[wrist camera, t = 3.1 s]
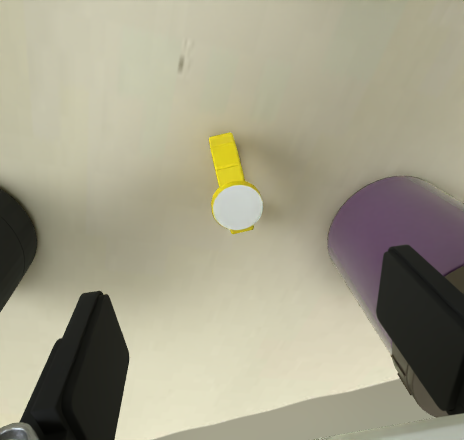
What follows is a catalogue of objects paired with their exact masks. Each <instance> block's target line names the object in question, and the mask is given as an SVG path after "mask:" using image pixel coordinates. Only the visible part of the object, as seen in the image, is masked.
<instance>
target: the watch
mask: <svg viewBox="0 0 464 440" xmlns="http://www.w3.org/2000/svg"><path fill="white" fill-rule="evenodd" d="M209 144H210V149H211V153H212V158H213V162H214V167H215V171H216V176H217V180H218V184H219V188H218V189H217V190H216V192H215V193H214V195H213V198H212V201H211V206H212V214H213V216H214V219H215V220H216V221H217V222H218V223H219V224H220V225H221V226H222V227H224V228H226V229H230V231H231V233H232V234H236V233H240V232H245V231H249V230H253V228H254V223H256V222H257V220H258V219H259V218H260V216H261V214H262V211H263V200H262V198H261V195H260V193H259V191H258V190H257V189H256V187H255V186H254V185H252V184H250V183H249V182H246V181H245V179H244V175H243V170H242V166H241V162H240V158H239V155H238V151H237V147H236V144H235V140H234V137H233V134H232V133H230V132H229V133H225V134H221V135H217V136H213V137H210V138H209Z"/></svg>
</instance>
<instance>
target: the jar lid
mask: <svg viewBox="0 0 464 440" xmlns="http://www.w3.org/2000/svg"><path fill="white" fill-rule="evenodd" d="M445 278H446V279H447V280H448V281H449V282H451V283H452V284H453V285H454V286H455V287H456V288H457V289H458V290H459V291H460V292H462V293H463V294H464V266H462V267H460V268H458V269H456V270H455V271H453V272H451V273H450V274H448V275H446V276H445ZM391 357H392V360H393V363H394V366H395V368H396V369H397V371H398V373H397V374H398V376H399V377H400V379H401V381H402V382H403V384H404V385H405V387H406V389H407V390H408V392H409V394H410V395H413V397H414V399H415V400H416V402H417V404H418V405H419V406H420V407H421V408H422V409H423V410H424V411H426V412H427V413H429V414H430V415H432V416H434V417H436V418H437V417H444V416H449V415H448V414H447V412H446V411H442V410H441V409H439V408H438V406H437V405H436V404H435V402H434V401H433V399H432V398H431V396H430V395H429V393H428V392H427V390H426V389H425V388H424V386H423V385H422V383H421V382H420V380H419V379H418V377H417V376H416V374H415V373H414V372H413V370H412V369H411V367H410V366H409V364H408V363H407V361H406V360H405V358H404V357H403V356H402V354H401V353H400V351H399V350H398V348H397V347H396V345H395V344H394V342H392V355H391Z"/></svg>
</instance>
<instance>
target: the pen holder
mask: <svg viewBox="0 0 464 440" xmlns="http://www.w3.org/2000/svg"><path fill="white" fill-rule="evenodd" d="M36 248H37V239H36V233H35V230H34V226H33V224H32V222H31V220H30V218H29V217H28V215H27V213H26V212H25V211H24V210H23V208H22V207H21V206H20V205H19V204H18V203H17V202H16V201H15V200H14V199H13V198H12V197H11V196H9V195H8V194H7V193H5V192H4V191H2V190H1V189H0V312H1V310H2V309H3V307H4V306H5V304H6V303H7V301H8V300H9V298H10V297H11V295H12V294H13V292H14V290H15V289H16V287H17V286H18V284H19V282H20V281H21V279H22V277H23V276H24V274H25V273H26V271H27V269H28V268H29V266H30V265H31V263H32V261H33V259H34V256H35V253H36Z"/></svg>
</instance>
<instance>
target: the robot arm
mask: <svg viewBox="0 0 464 440" xmlns="http://www.w3.org/2000/svg"><path fill="white" fill-rule="evenodd" d="M376 315H377V318H378V320H379V322H380V324H381V325H382V326H383V328H384V329H385V331H386V332H387V334H388V335H389V337H390V338H391V340H392V341H393V342H394V344H395V345H396V347H397V348H398V350H399V351H400V353H401V354H402V356H403V357H404V358H405V360H406V361H407V363H408V364H409V366H410V367H411V369H412V370H413V372H414V373H415V374H416V376H417V377H418V379H419V380H420V382H421V383H422V385H423V386H424V388H425V389H426V390H427V392H428V393H429V395H430V396H431V398H432V399H433V401H434V402H435V404H436V405H437V406H438V408H439V409H441V410H442V411H446V412H447V414H448V415H449V416H444V417H437V418H431V419H426V420H420V421H414V422H408V423H403V424H397V425H391V426H385V427H380V428H375V429H368V430H363V431H357V432H351V433H346V434H341V435H335V436H329V437H323V438H318V439H312V440H464V294H463V293H462V292H460V291H459V290H458V289H457V288H456V287H455V286H454V285H453V284H452V283H451V282H449V281H448V280H447V279H446V278H445V277H444V276H443V275H442V274H441V273H440V272H438V271H437V270H436V269H435V268H434V267H433V266H432V265H431V264H430V263H429V262H427V261H426V260H425V259H424V258H423V257H422V256H421V255H420V254H419V253H418V252H416V251H415V250H414V249H413V248H412V247H411V246H410V245H407V244H405V245H399V246H392V247H389V249H388V251H387V252H385V253H384V255H383V262H382V269H381V277H380V285H379V292H378V300H377V307H376ZM128 365H129V352H128V348H127V346H126V343H125V340H124V337H123V334H122V331H121V329H120V326H119V323H118V320H117V317H116V314H115V312H114V309H113V306H112V303H111V300H110V298H109V296H108V295H107V294H105V295H103V293H102V292H101V291H96V292H89V293H83V294H82V295H81V296H80V298H79V301H78V303H77V305H76V308H75V310H74V312H73V315H72V317H71V319H70V321H69V324H68V326H67V328H66V331H65V333H64V335H63V338H61V339H59V340H57V341H56V343H55V345H54V347H53V349H52V351H51V353H50V355H49V358H48V360H47V362H46V364H45V367H44V369H43V371H42V373H41V376H40V378H39V380H38V382H37V384H36V387H35V389H34V391H33V393H32V396H31V398H30V400H29V402H28V404H27V407H26V409H25V411H24V413H23V416H22V418H21V420H20V422H19V423H12V424H9V425H7V426H4V427H2V428H0V440H114V439H115V433H116V428H117V423H118V418H119V412H120V407H121V402H122V396H123V391H124V386H125V381H126V375H127V370H128Z"/></svg>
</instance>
